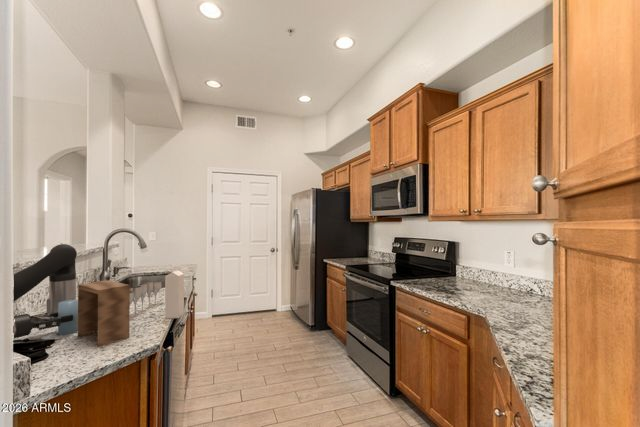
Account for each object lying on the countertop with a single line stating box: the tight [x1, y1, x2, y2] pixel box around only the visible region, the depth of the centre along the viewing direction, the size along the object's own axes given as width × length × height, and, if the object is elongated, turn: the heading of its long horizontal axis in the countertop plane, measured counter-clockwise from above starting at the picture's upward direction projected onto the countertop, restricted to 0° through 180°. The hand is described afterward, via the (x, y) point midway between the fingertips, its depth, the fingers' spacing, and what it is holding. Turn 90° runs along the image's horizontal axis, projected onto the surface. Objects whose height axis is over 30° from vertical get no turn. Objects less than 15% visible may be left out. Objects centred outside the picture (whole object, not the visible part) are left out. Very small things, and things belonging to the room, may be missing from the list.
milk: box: [164, 266, 185, 319], centre depth 138 cm, size 6×6×22 cm
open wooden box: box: [77, 279, 131, 348], centre depth 114 cm, size 10×18×20 cm, turn 57°
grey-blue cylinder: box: [57, 299, 78, 336], centre depth 119 cm, size 6×6×12 cm
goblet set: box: [129, 280, 163, 321], centre depth 146 cm, size 28×6×13 cm, turn 0°
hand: (68, 315), depth 119 cm, fingers open, 8 cm apart
